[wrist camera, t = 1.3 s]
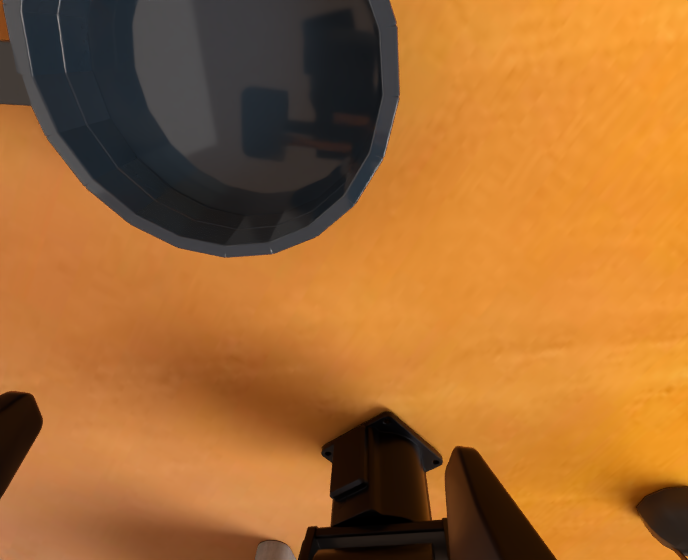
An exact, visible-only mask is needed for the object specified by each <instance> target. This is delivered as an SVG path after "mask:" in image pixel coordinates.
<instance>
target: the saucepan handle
mask: <svg viewBox="0 0 688 560" xmlns="http://www.w3.org/2000/svg"><path fill="white" fill-rule="evenodd" d="M22 76H23V75H22V74H19V73H17V71H16V66H15V61H14V56H13V51H12V45H11V43H10V40H0V104H9V105H26V106H31V102H30V99H29V96H28V93H27V89H26V86H25V83H24V80H23V77H22Z"/></svg>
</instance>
